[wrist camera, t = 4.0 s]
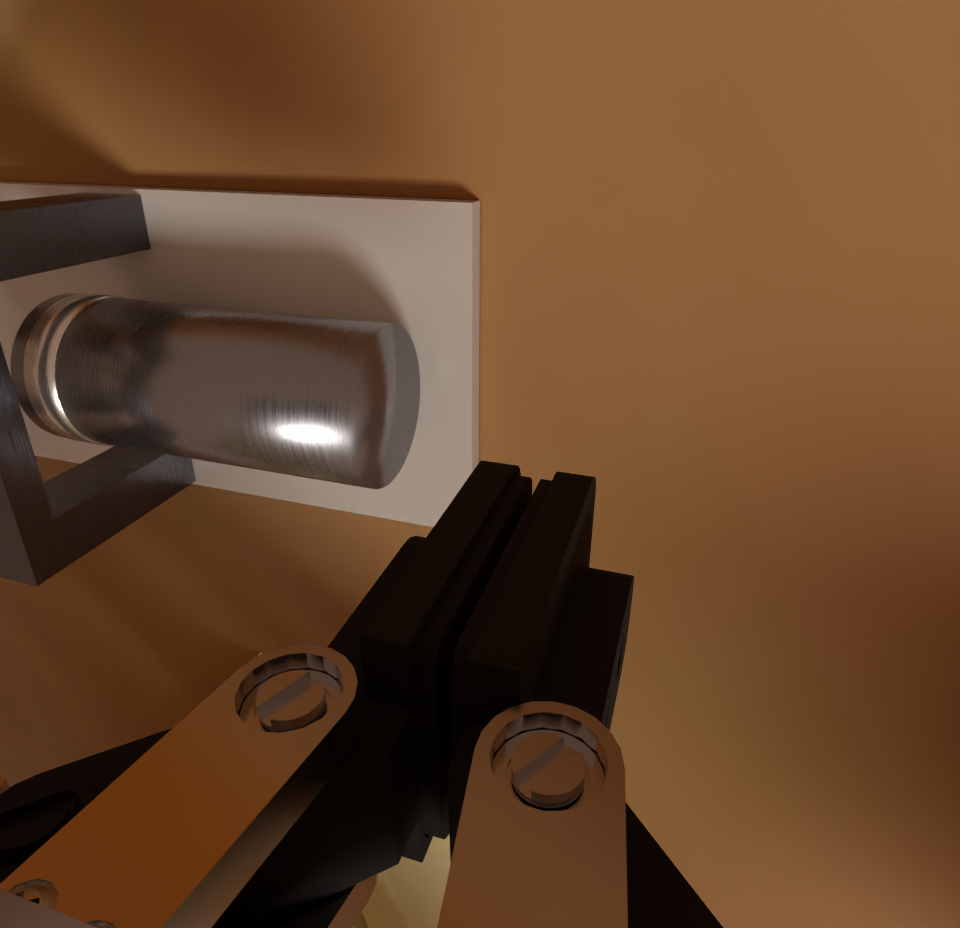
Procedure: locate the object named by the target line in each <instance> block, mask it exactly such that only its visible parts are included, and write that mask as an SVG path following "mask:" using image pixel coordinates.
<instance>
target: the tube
mask: <svg viewBox="0 0 960 928" xmlns="http://www.w3.org/2000/svg"><path fill="white" fill-rule="evenodd" d="M10 371H11V379H12V382H13V385H14V389H15V392H16V395H17V399H18V402H19V403H20V405H21V407H22V409H23V410H24V412H25V413H26V415H27V416H28V417H29V418H30V419H31V420H32V421H33V422H34V423H35V424H36V425H37V426H39V427H40V428H41V429H43V430H45V431H46V432H48V433H51V434H53V435H56V436H60V437H65V438H67V439H71V440H75V441H81V442H87V443H93V444H99V445H105V446H119V447H125V448H131V449H137V450H143V451H149V452H155V453H161V454H167V455H173V456H179V457H185V458H191V459H197V460H203V461H209V462H215V463H221V464H227V465H233V466H239V467H245V468H250V469H256V470H262V471H268V472H274V473H280V474H286V475H292V476H298V477H304V478H310V479H316V480H322V481H328V482H334V483H340V484H346V485H352V486H358V487H364V488H370V489H381V488H384V487H385V486H387V485H389V484H390V483H391V482H392V481H393V480H394V479H395V477H396V476H397V475H398V473H399V472H400V470H401V468H402V466H403V465H404V463H405V460H406V458H407V456H408V453H409V451H410V448H411V445H412V442H413V438H414V434H415V430H416V425H417V420H418V413H419V404H420V372H419V363H418V358H417V354H416V350H415V347H414V344H413V341H412V339H411V337H410V335H409V334H408V333H407V331H406V330H405V329H404V328H403V327H402V326H400V325H398V324H392V323H382V322H371V321H361V320H350V319H339V318H329V317H318V316H308V315H297V314H287V313H276V312H266V311H255V310H244V309H234V308H223V307H213V306H202V305H192V304H181V303H170V302H160V301H149V300H139V299H128V298H125V297H120V296H112V295H101V294H91V293H80V294H75V293H66V294H61V295H57V296H54V297H51V298H49V299H47V300H45V301H43V302H42V303H40V304H39V305H38V306H36V307H35V308H34V309H33V310H32V311H31V312H30V313H29V314H28V315H27V317H26V318H25V319H24V321H23V322H22V324H21V326H20V328H19V329H18V332H17V334H16V337H15V339H14V343H13V347H12V352H11V363H10Z"/></svg>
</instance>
